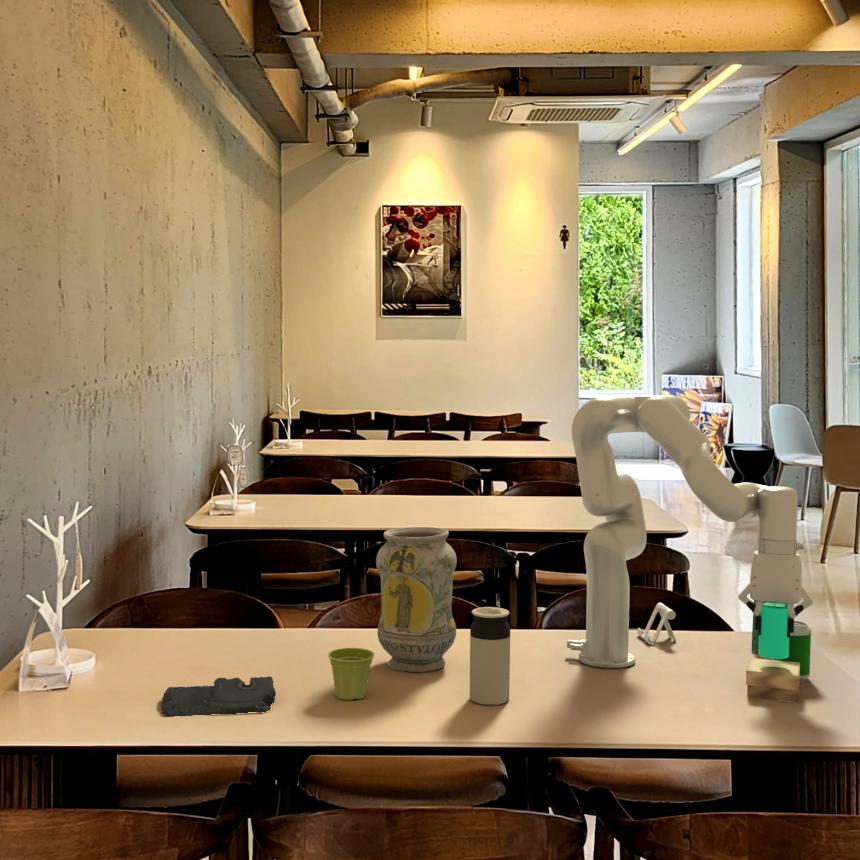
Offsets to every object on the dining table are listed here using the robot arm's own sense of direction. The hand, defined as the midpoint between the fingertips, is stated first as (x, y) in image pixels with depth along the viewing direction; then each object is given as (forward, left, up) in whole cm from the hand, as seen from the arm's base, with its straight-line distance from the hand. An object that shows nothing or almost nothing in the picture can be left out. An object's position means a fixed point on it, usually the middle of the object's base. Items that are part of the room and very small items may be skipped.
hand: (774, 633), depth 224 cm
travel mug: (-54, -24, -12) cm, 60 cm away
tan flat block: (0, 0, -13) cm, 13 cm away
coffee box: (-1, +33, -12) cm, 35 cm away
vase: (-76, -5, -12) cm, 77 cm away
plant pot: (-81, -31, -12) cm, 88 cm away
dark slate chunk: (-104, -44, -13) cm, 113 cm away
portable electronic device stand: (-27, +35, -13) cm, 46 cm away
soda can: (+4, +12, -12) cm, 18 cm away
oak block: (0, 0, -10) cm, 10 cm away
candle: (0, 0, -5) cm, 5 cm away
